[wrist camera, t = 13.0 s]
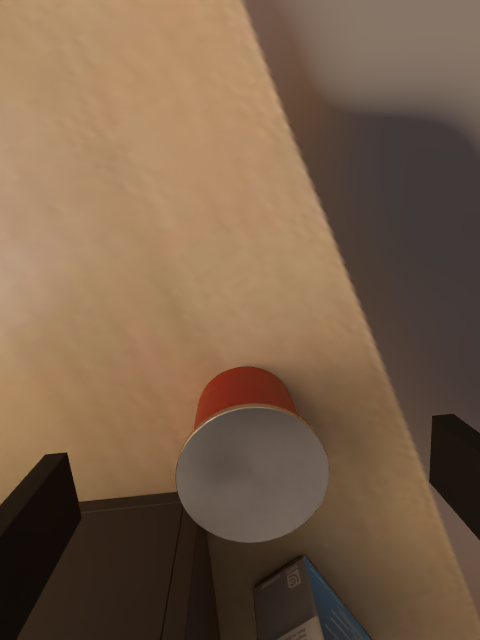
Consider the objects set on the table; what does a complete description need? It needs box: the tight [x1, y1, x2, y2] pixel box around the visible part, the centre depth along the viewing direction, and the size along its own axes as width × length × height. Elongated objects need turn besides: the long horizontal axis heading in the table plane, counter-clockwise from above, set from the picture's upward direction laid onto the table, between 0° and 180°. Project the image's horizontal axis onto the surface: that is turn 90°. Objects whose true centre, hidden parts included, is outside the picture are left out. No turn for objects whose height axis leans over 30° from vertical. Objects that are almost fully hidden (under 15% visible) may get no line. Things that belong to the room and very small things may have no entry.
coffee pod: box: [176, 367, 329, 543], centre depth 14 cm, size 6×6×5 cm
